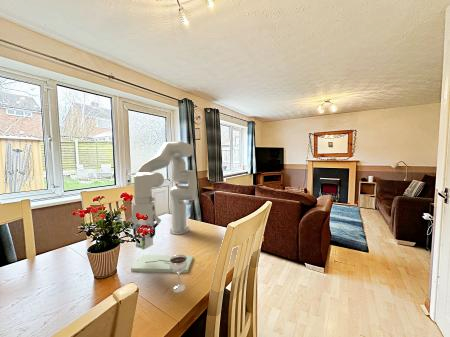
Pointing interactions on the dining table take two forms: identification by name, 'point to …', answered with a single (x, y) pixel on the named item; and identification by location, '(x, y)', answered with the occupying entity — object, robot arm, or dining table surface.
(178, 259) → the wineglass
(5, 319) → the dining table surface
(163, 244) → the dining table surface
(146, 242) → the syrup box
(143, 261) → the board
